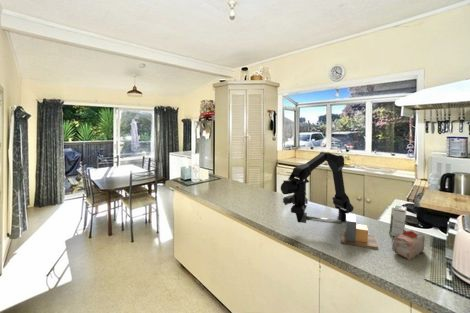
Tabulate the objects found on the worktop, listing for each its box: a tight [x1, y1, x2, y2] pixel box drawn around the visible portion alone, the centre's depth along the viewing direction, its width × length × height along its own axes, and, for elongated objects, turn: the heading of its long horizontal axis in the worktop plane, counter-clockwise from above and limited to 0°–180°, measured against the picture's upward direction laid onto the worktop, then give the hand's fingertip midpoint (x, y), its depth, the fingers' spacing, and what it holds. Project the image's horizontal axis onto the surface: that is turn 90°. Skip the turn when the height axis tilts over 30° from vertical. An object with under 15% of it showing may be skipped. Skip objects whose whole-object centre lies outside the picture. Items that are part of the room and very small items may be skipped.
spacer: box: [356, 223, 369, 243], centre depth 114 cm, size 6×5×6 cm
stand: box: [340, 213, 379, 250], centre depth 114 cm, size 12×15×11 cm
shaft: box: [300, 212, 342, 225], centre depth 121 cm, size 4×20×4 cm, turn 68°
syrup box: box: [388, 204, 408, 238], centre depth 119 cm, size 6×6×14 cm
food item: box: [391, 229, 425, 260], centre depth 103 cm, size 14×8×10 cm, turn 122°
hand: (299, 220), depth 125 cm, fingers closed on shaft, 4 cm apart
